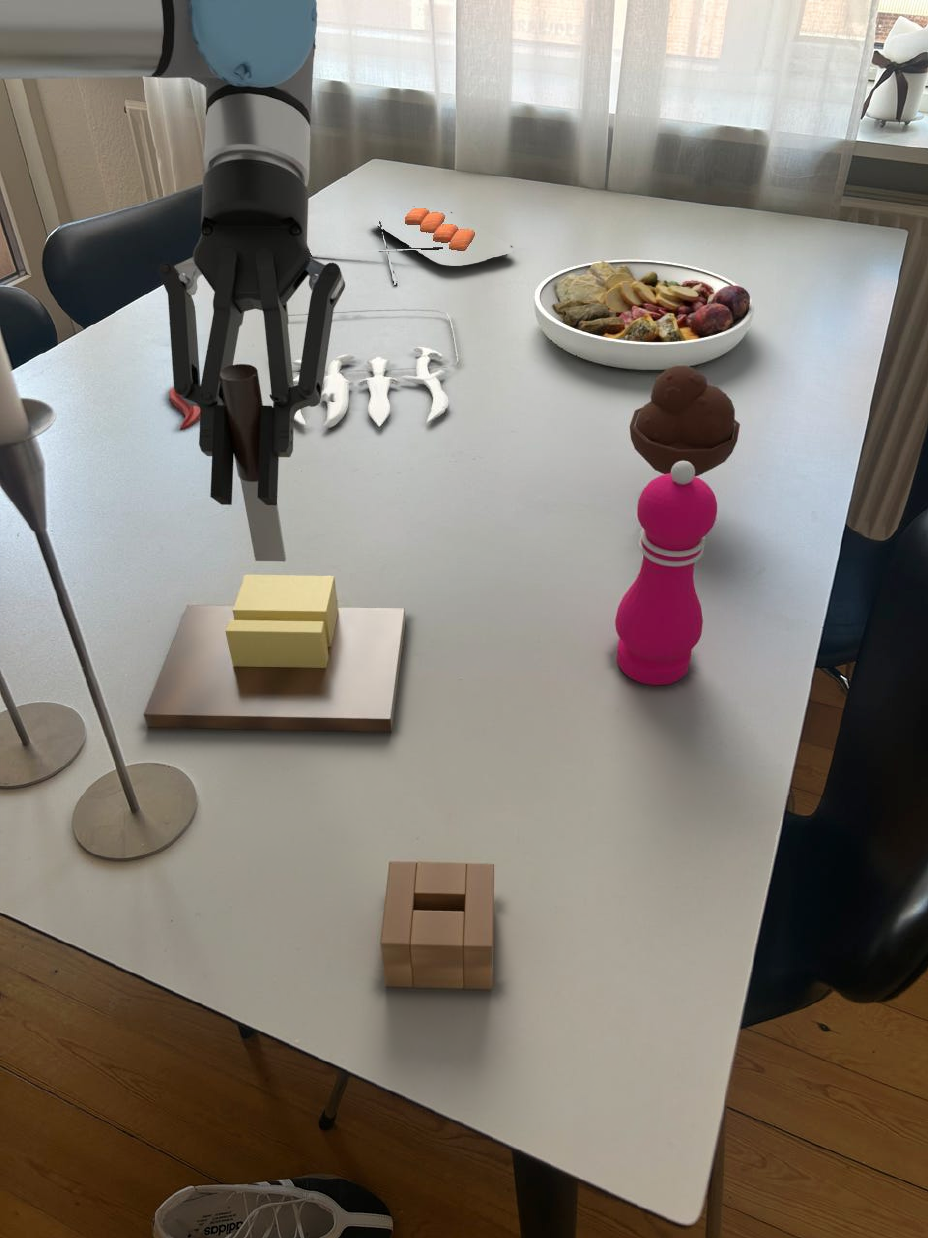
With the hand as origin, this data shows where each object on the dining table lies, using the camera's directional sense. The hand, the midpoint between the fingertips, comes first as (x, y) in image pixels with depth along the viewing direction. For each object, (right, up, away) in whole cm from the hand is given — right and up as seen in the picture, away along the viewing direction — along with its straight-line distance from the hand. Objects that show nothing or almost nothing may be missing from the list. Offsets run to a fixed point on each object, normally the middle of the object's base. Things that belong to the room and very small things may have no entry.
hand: (244, 500), depth 68 cm
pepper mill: (+32, -12, +16) cm, 38 cm away
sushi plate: (+5, +53, +94) cm, 109 cm away
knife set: (+2, +25, +61) cm, 66 cm away
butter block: (0, -9, +18) cm, 20 cm away
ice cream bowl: (+38, +4, +35) cm, 52 cm away
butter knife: (0, -4, +8) cm, 9 cm away
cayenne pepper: (-19, +18, +53) cm, 59 cm away
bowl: (+40, +32, +69) cm, 86 cm away
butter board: (0, -13, +16) cm, 20 cm away
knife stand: (+14, -30, -5) cm, 33 cm away
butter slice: (0, -12, +14) cm, 19 cm away
